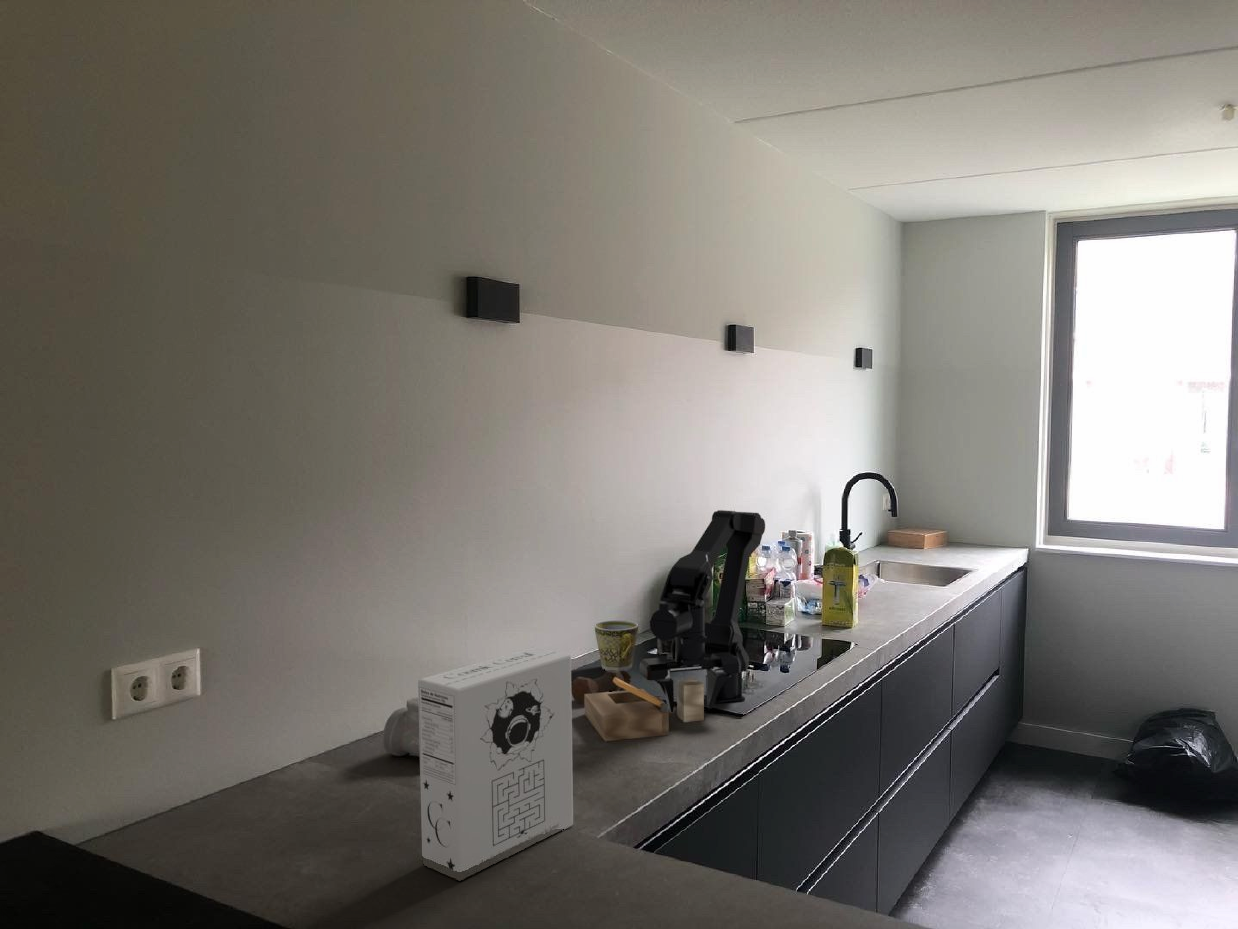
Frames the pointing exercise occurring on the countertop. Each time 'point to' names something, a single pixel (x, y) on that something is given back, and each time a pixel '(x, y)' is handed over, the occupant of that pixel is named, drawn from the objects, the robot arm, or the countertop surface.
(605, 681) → the bolt
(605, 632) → the ceramic cup
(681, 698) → the peg
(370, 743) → the countertop surface
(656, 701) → the gate
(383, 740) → the pipe fitting
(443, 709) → the cereal box
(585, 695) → the block
